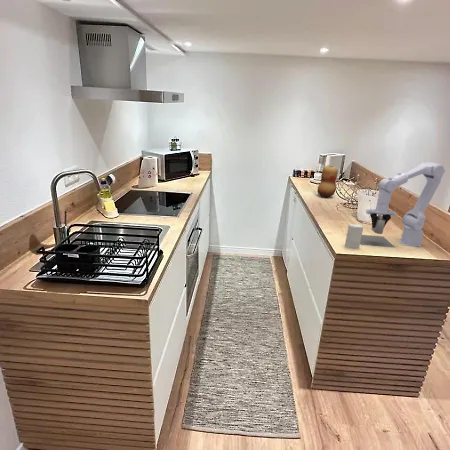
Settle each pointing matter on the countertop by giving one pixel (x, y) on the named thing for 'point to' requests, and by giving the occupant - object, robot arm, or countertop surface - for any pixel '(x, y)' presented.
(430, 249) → the countertop surface
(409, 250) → the countertop surface
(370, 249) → the countertop surface
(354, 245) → the skincare box
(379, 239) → the mat
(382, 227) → the connector
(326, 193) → the butternut squash
